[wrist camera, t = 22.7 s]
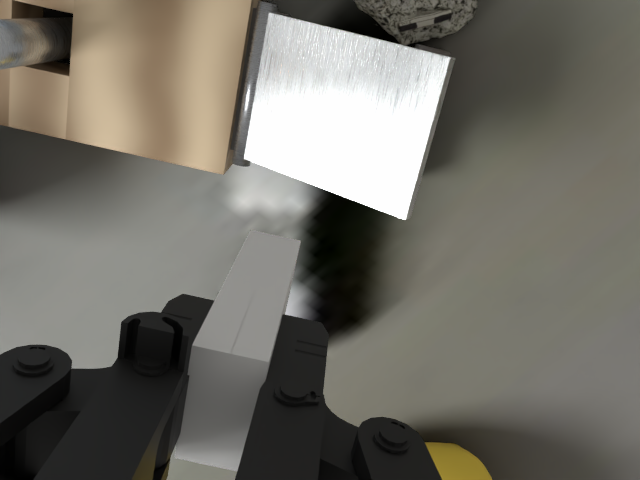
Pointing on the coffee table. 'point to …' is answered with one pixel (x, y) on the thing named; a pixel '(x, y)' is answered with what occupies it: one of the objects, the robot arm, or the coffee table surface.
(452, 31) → the rock sample
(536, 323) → the coffee table surface
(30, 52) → the pin
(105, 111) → the block
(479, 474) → the teapot
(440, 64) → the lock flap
